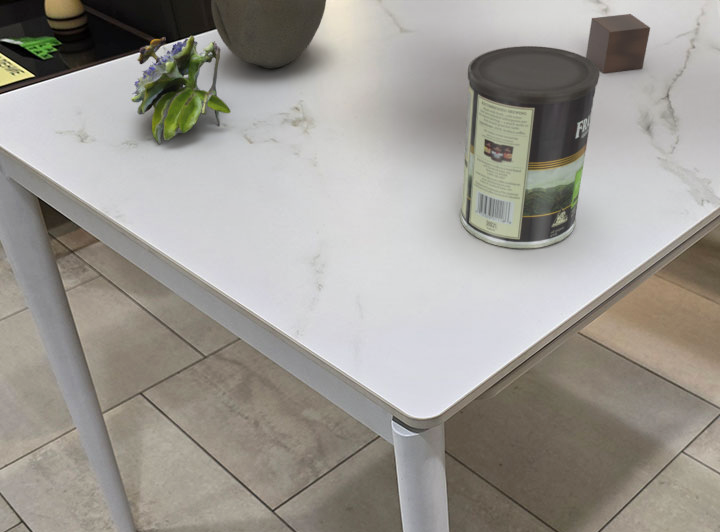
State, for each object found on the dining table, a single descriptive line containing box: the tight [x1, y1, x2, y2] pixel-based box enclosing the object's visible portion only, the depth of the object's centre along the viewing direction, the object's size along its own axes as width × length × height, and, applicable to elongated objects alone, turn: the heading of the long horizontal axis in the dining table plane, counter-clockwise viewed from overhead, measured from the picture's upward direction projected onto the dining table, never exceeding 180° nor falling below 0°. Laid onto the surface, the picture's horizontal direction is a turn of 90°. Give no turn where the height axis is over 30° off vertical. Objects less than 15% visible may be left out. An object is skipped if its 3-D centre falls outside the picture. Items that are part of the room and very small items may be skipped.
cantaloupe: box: [210, 0, 327, 69], centre depth 104 cm, size 14×14×15 cm
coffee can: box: [459, 45, 600, 250], centre depth 73 cm, size 10×10×14 cm
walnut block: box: [585, 13, 651, 74], centre depth 102 cm, size 5×5×5 cm
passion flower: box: [130, 35, 232, 145], centre depth 94 cm, size 11×11×12 cm
